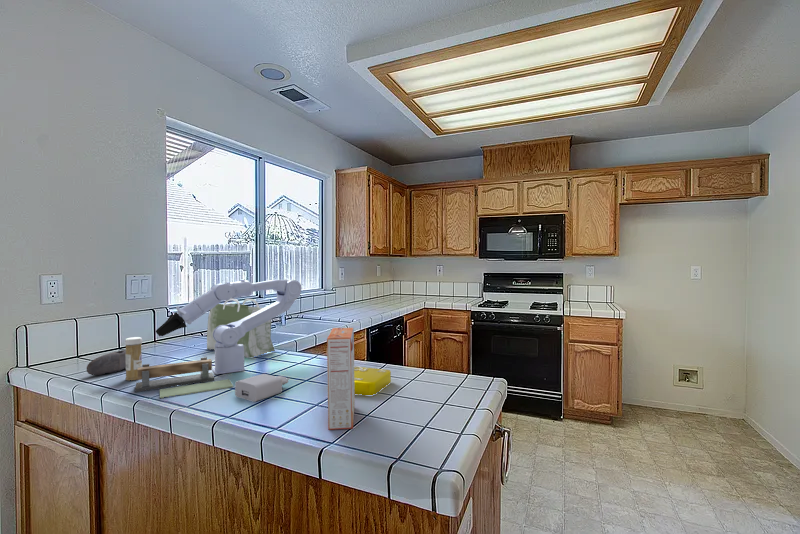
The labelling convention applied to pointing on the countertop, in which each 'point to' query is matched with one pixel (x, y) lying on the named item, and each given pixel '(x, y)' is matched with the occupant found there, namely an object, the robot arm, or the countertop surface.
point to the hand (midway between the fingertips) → (158, 333)
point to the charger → (259, 387)
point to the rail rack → (173, 379)
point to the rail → (174, 368)
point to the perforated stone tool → (108, 363)
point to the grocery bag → (254, 339)
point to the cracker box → (340, 378)
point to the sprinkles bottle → (133, 357)
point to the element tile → (370, 380)
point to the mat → (195, 388)
